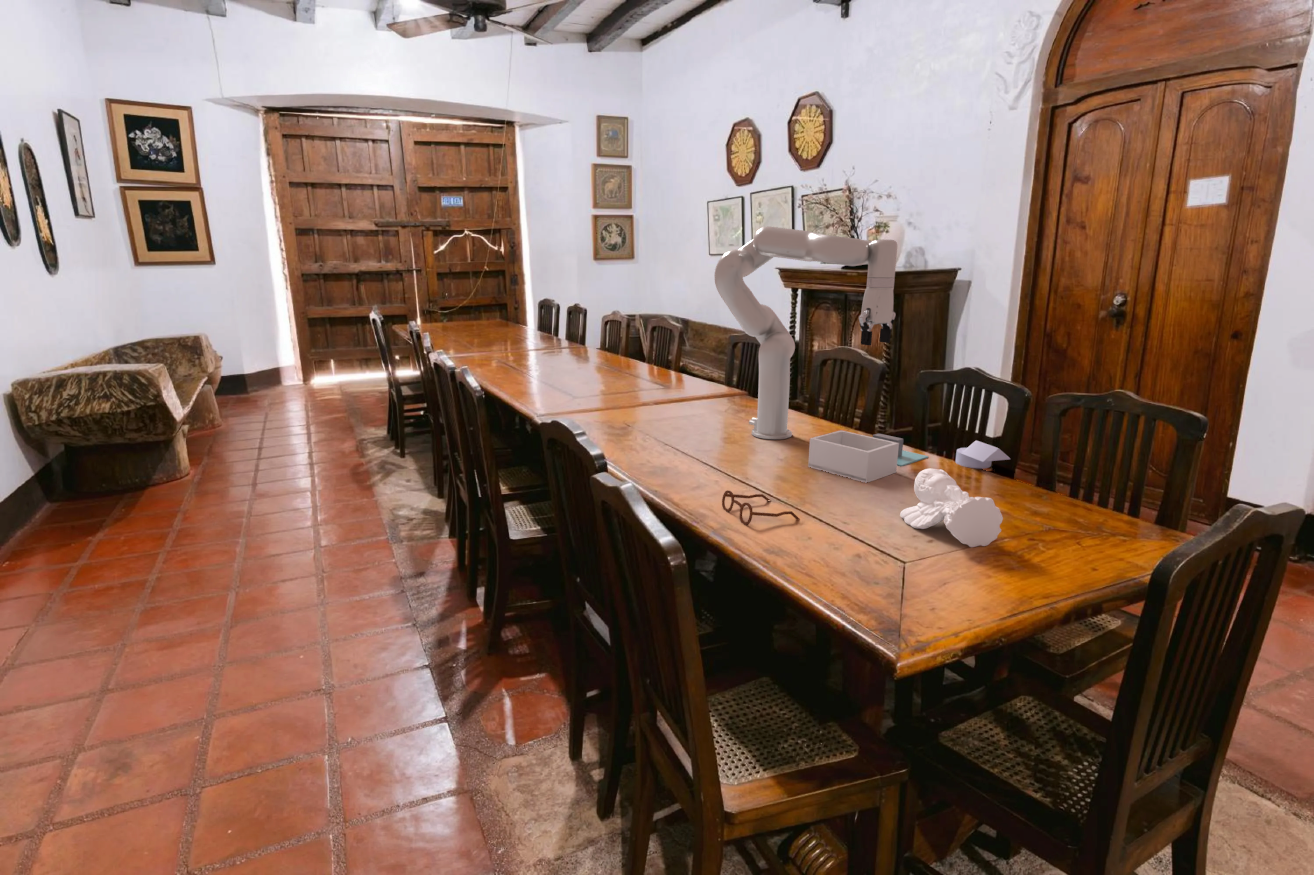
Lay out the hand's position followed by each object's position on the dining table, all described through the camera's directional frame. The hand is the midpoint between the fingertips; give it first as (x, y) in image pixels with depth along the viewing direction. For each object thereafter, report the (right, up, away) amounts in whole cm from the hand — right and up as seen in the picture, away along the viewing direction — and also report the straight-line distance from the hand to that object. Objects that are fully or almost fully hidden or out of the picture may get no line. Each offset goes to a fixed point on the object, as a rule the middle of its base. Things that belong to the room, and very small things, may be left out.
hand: (875, 343), depth 208 cm
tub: (-12, -36, -19) cm, 43 cm away
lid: (+2, -33, -5) cm, 34 cm away
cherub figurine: (-4, -47, -60) cm, 77 cm away
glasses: (-41, -45, -51) cm, 79 cm away
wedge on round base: (+24, -36, -14) cm, 45 cm away
